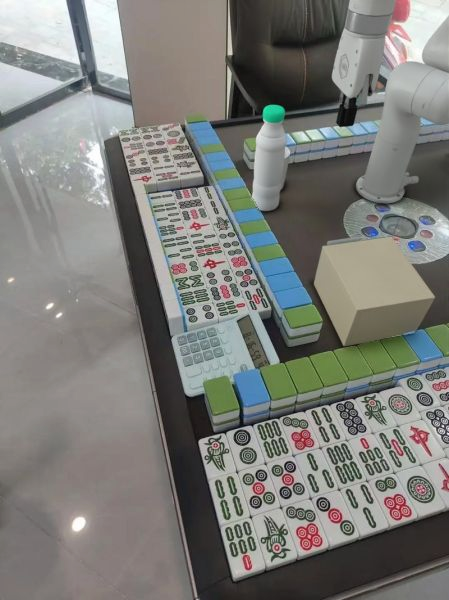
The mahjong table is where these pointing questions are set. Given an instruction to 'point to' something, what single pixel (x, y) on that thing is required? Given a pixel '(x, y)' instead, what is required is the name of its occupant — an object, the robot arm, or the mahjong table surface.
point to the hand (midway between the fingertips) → (344, 124)
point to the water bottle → (269, 159)
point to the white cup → (285, 166)
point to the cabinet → (371, 290)
